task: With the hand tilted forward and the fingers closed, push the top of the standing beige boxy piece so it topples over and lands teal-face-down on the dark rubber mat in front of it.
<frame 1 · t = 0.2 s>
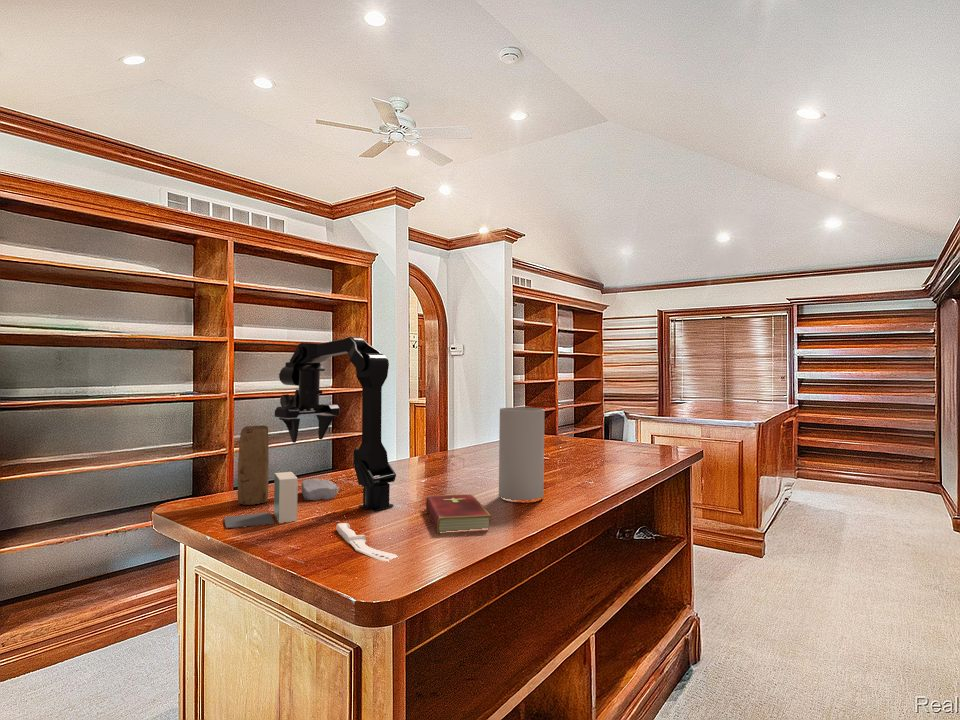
hand: (307, 440, 156), 15 cm above the table, tool pointing down, fingers open, 9 cm apart
hardcover book: (456, 522, 130), on the table
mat: (248, 521, 126), on the table
beige boxy piece: (285, 517, 130), on the table
cylinder vase: (520, 499, 152), on the table
block: (253, 502, 145), on the table
stone block: (321, 497, 153), on the table
knife: (373, 550, 109), on the table
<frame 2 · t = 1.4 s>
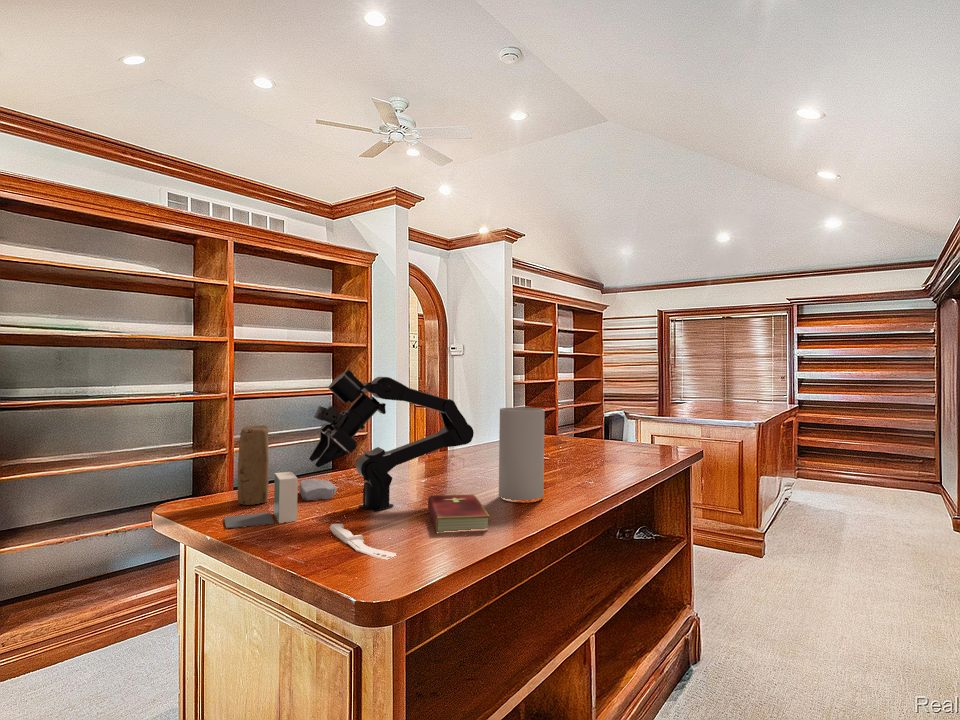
hand: (313, 463, 134), 12 cm above the table, tool tilted 45°, fingers open, 9 cm apart
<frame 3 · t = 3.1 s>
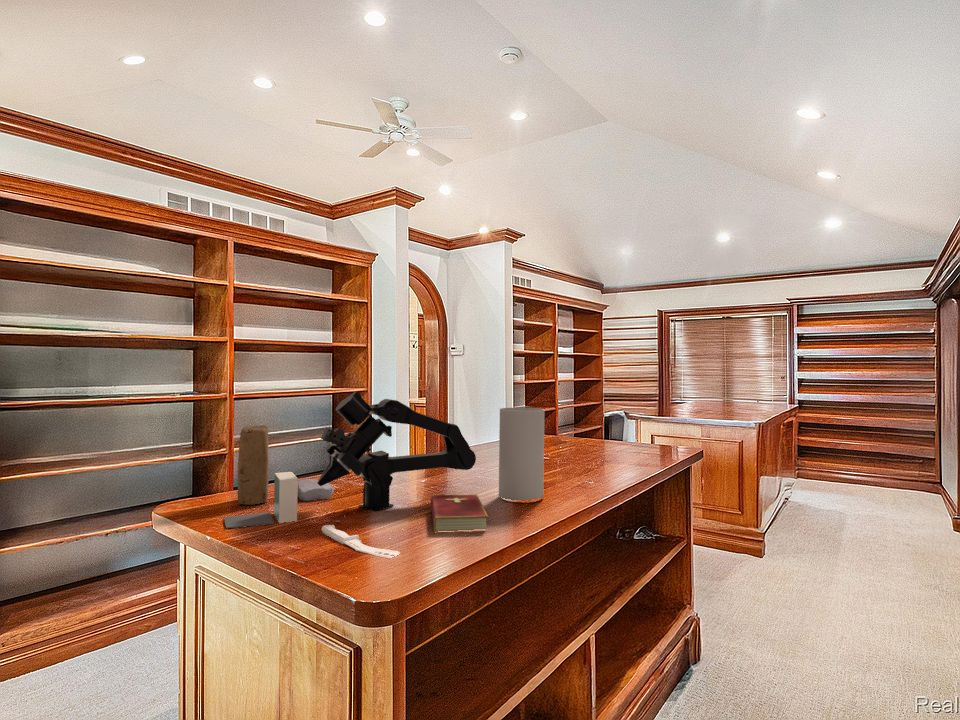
hand: (318, 484, 134), 7 cm above the table, tool tilted 45°, fingers closed
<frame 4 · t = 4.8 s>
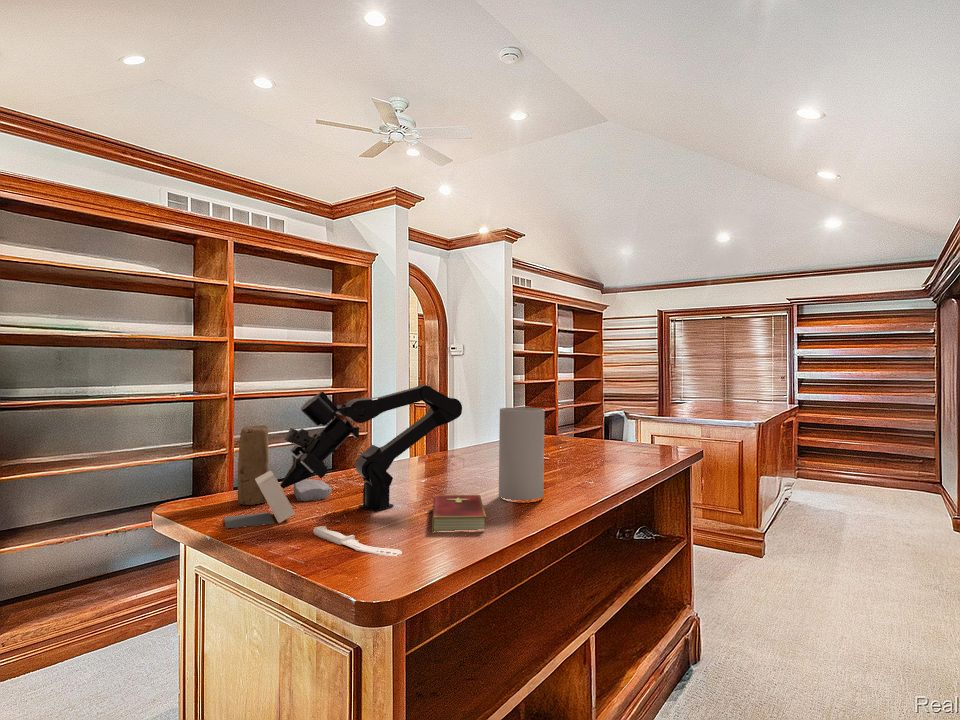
hand: (281, 486, 130), 7 cm above the table, tool tilted 45°, fingers closed
beige boxy piece: (284, 513, 130), point 1 cm above the table, tilted 27°
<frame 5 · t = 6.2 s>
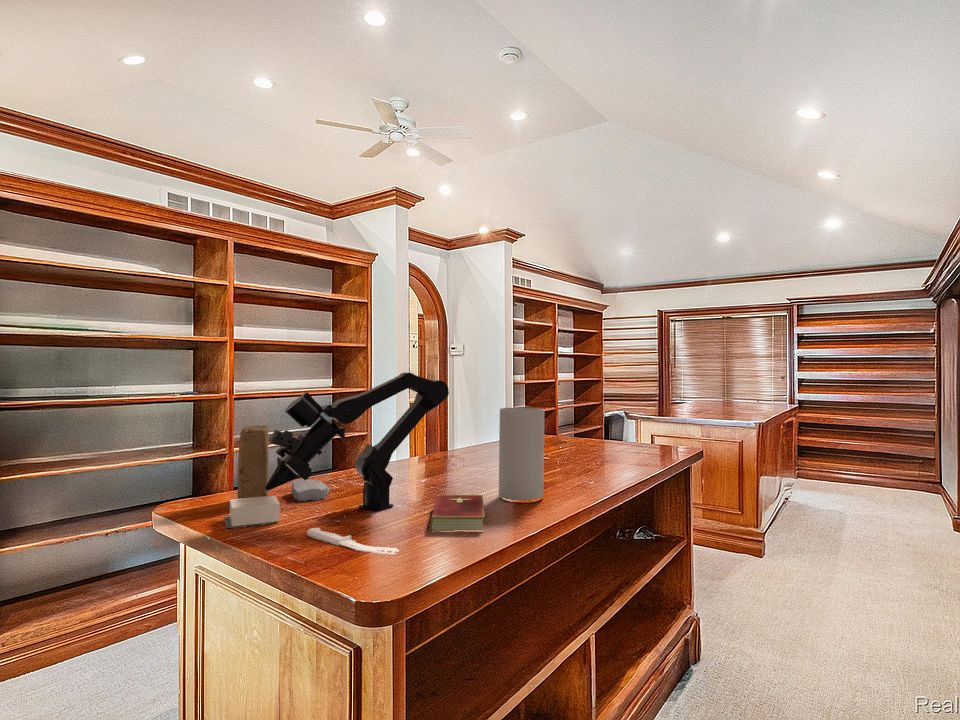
hand: (266, 489, 128), 7 cm above the table, tool tilted 45°, fingers closed
beige boxy piece: (277, 507, 129), point 2 cm above the table, tilted 90°, touching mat
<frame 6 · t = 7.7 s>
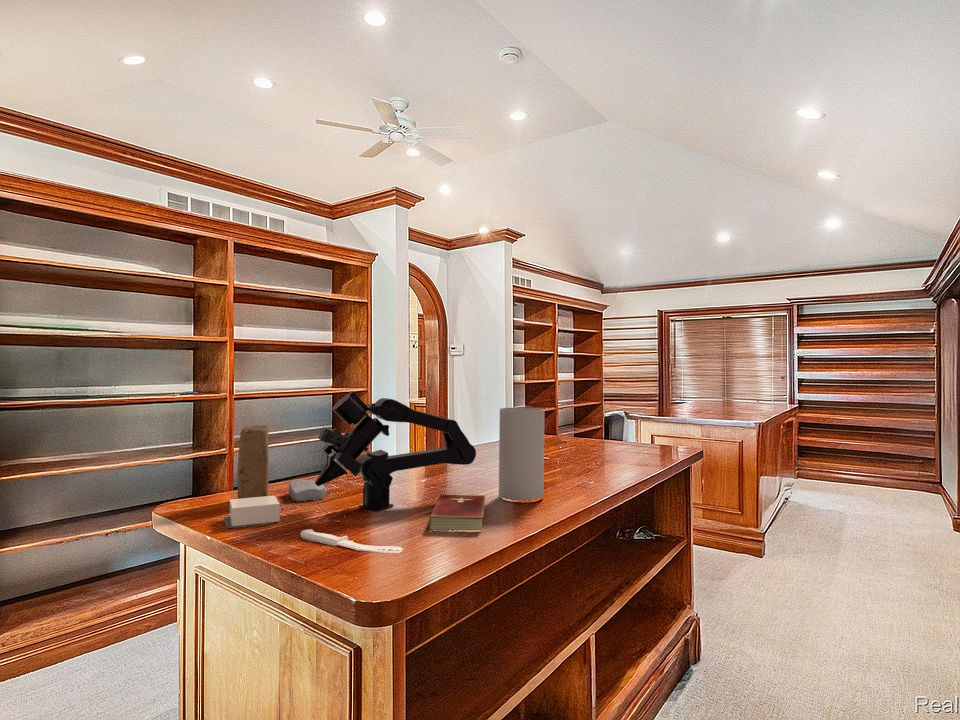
hand: (316, 484, 134), 7 cm above the table, tool tilted 45°, fingers closed
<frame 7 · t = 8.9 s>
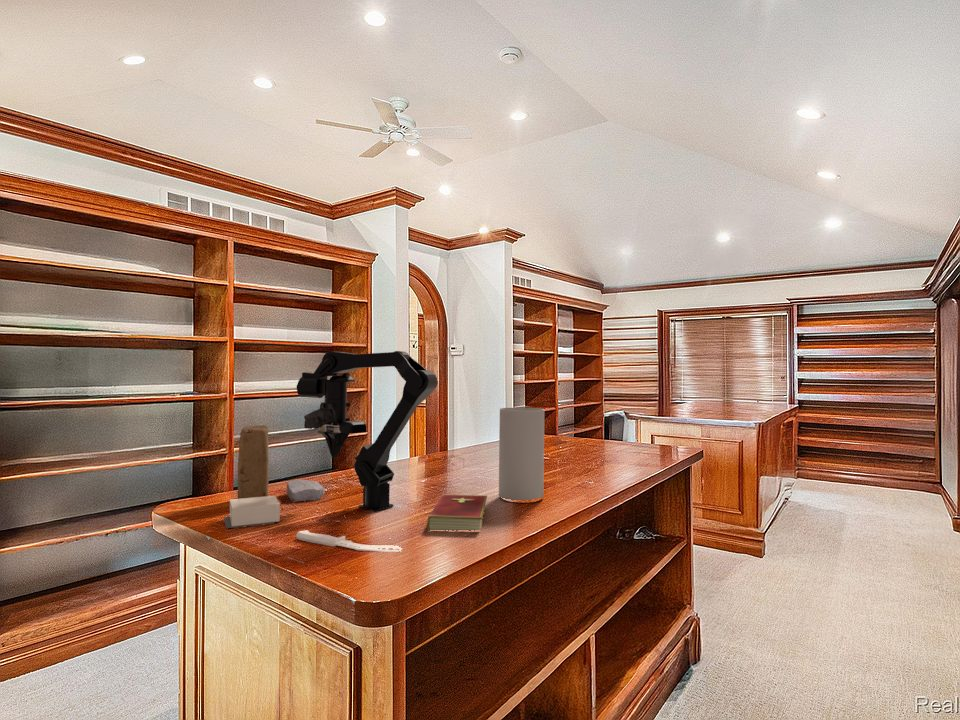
hand: (334, 457, 144), 12 cm above the table, tool pointing down, fingers closed
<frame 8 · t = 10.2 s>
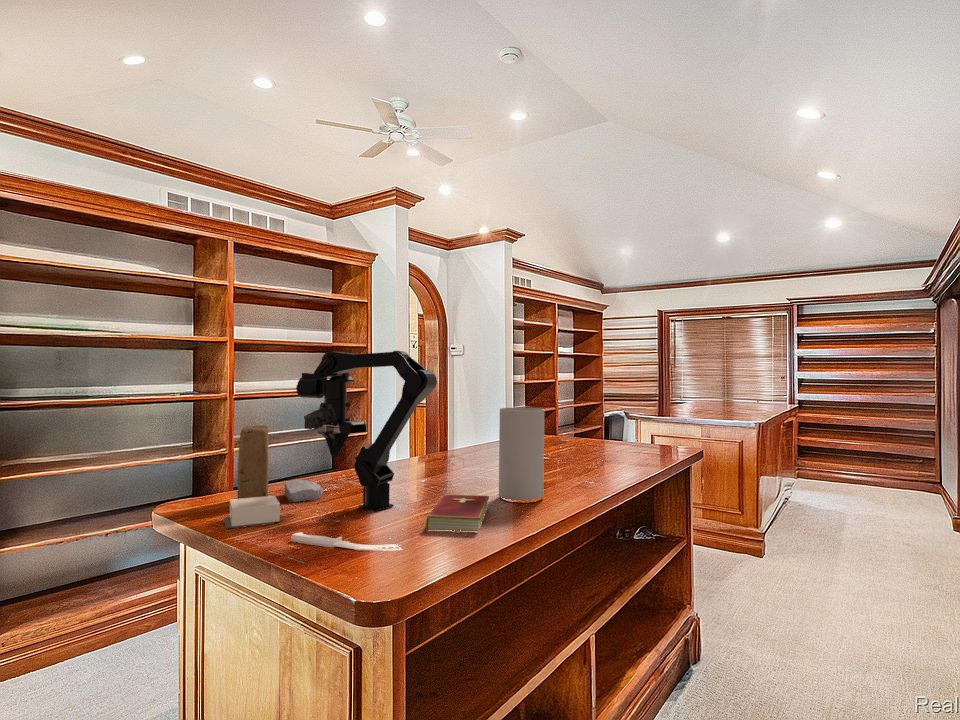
hand: (334, 457, 144), 12 cm above the table, tool pointing down, fingers closed
at the end: beige boxy piece tilted 90°; beige boxy piece 6.2 cm from the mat (horizontally); beige boxy piece point 2.4 cm above the table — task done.
